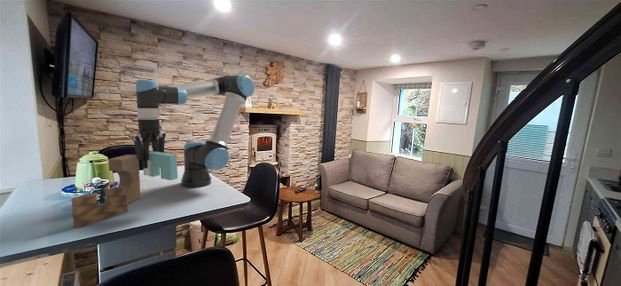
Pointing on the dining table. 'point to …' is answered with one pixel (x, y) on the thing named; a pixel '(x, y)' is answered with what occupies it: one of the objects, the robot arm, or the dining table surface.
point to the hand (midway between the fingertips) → (152, 174)
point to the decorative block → (127, 174)
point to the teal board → (163, 165)
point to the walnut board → (98, 206)
